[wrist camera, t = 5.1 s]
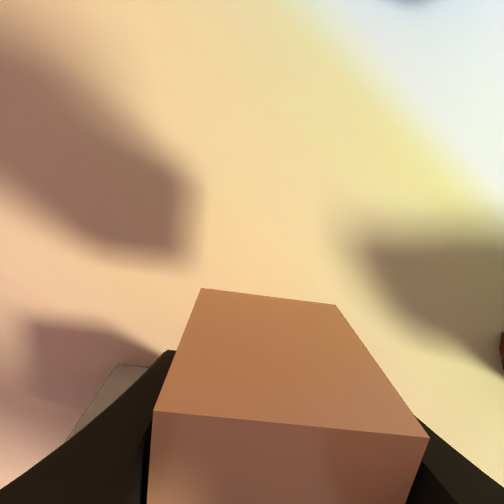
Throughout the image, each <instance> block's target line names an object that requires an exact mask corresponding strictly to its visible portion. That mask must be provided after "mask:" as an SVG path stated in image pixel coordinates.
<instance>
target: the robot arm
mask: <svg viewBox="0 0 504 504" xmlns="http://www.w3.org/2000/svg"><path fill="white" fill-rule="evenodd" d="M175 354H176V351H173V350H167V351H165V352H164V353H163V354H162V355H161V356H160V357H159V358H158V359H157V360H156V361H155V362H154V363H153V364H152V365H151V366H150V368H149V369H148V370H147V371H146V372H145V373H144V374H143V375H142V376H141V377H139V378H138V379H137V380H136V381H135V382H134V383H133V384H132V385H131V386H130V387H129V388H128V389H127V390H126V391H125V392H124V393H123V394H121V395H120V396H119V397H118V398H117V399H116V400H115V401H114V402H113V403H112V404H111V405H109V406H108V407H107V408H106V409H105V410H104V411H102V412H101V413H100V414H99V415H98V416H96V417H95V418H94V419H93V420H92V421H91V422H89V423H88V424H87V425H86V426H85V427H84V428H82V429H81V430H80V431H79V432H77V433H76V434H75V435H74V436H72V437H71V438H70V439H69V440H67V441H66V442H65V443H64V444H62V445H61V446H60V447H58V448H57V449H56V450H55V451H53V452H52V453H51V454H49V455H48V456H47V457H45V458H44V459H43V460H41V461H40V462H38V463H37V464H36V465H34V466H33V467H32V468H30V469H29V470H28V471H26V472H25V473H24V474H22V475H21V476H19V477H18V478H16V479H15V480H13V481H12V482H11V483H9V484H8V485H6V486H5V487H3V488H2V489H0V504H147V491H148V477H149V463H150V449H151V434H152V420H153V410H154V407H155V405H156V402H157V399H158V397H159V394H160V392H161V389H162V387H163V384H164V382H165V379H166V377H167V374H168V371H169V369H170V366H171V364H172V361H173V359H174V356H175ZM415 417H416V416H415ZM416 419H417V420H418V422H419V423H420V425H421V426H422V427H423V429H424V430H425V432H426V433H427V434H428V436H429V437H430V439H429V442H428V444H427V447H426V450H425V452H424V455H423V458H422V460H421V463H420V465H419V468H418V471H417V473H416V476H415V479H414V481H413V484H412V486H411V489H410V492H409V494H408V497H407V500H406V502H405V504H504V488H503V487H502V486H501V485H499V484H498V483H497V482H496V481H494V480H493V479H492V478H490V477H489V476H488V475H486V474H485V473H484V472H482V471H481V470H480V469H479V468H477V467H476V466H475V465H474V464H472V463H471V462H470V461H469V460H467V459H466V458H465V457H464V456H462V455H461V454H460V453H459V452H457V451H456V450H455V449H454V448H452V447H451V446H450V445H449V444H448V443H446V442H445V441H444V440H443V439H442V438H440V437H439V436H438V435H437V434H436V433H434V432H433V431H432V430H431V429H430V428H428V427H427V426H426V425H425V424H424V423H423V422H421V421H420V420H419V419H418V418H417V417H416Z"/></svg>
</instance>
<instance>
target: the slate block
mask: <svg viewBox="0 0 504 504" xmlns="http://www.w3.org/2000/svg"><path fill="white" fill-rule="evenodd" d="M148 369H149V368H147V367H138V366H129V365H120V364H117V365H116V367H115V368H114V370H113V371H112V373H111V374H110V376H109V377H108V379H107V380H106V382H105V383H104V385H103V386H102V388H101V389H100V391H99V392H98V394H97V395H96V396H95V398H94V399H93V401H92V402H91V404H90V405H89V407H88V408H87V410H86V411H85V413H84V414H83V416H82V417H81V419H80V420H79V422H78V423H77V425H76V426H75V428H74V429H73V430H72V432H71V433H70V435H69V436H68V438H67V439H66V441H67V440H69V439H70V438H71V437H72V436H74V435H75V434H76V433H77V432H79V431H80V430H81V429H82V428H84V427H85V426H86V425H87V424H88V423H89V422H91V421H92V420H93V419H94V418H95V417H96V416H98V415H99V414H100V413H101V412H102V411H104V410H105V409H106V408H107V407H108V406H109V405H111V404H112V403H113V402H114V401H115V400H116V399H117V398H118V397H119V396H120V395H121V394H123V393H124V392H125V391H126V390H127V389H128V388H129V387H130V386H131V385H132V384H133V383H134V382H135V381H136V380H137V379H138V378H139V377H141V376H142V375H143V374H144V373H145V372H146V371H147V370H148Z"/></svg>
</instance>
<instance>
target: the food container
mask: <svg viewBox="0 0 504 504" xmlns="http://www.w3.org/2000/svg"><path fill="white" fill-rule="evenodd" d="M499 349H500V355H501V360H502V366H503V370H504V331H502V335H501V342H500V348H499Z"/></svg>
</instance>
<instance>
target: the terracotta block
mask: <svg viewBox="0 0 504 504" xmlns="http://www.w3.org/2000/svg"><path fill="white" fill-rule="evenodd" d="M429 439H430V437H429V436H428V434H427V433H426V432H425V430H424V429H423V427H422V426H421V425H420V423H419V422H418V420H417V419H416V417H415V416H414V415H413V413H412V412H411V410H410V409H409V408H408V406H407V405H406V403H405V402H404V401H403V399H402V398H401V396H400V395H399V393H398V392H397V391H396V389H395V388H394V386H393V385H392V384H391V382H390V381H389V379H388V378H387V377H386V375H385V374H384V372H383V371H382V370H381V368H380V367H379V365H378V364H377V362H376V361H375V360H374V358H373V357H372V355H371V354H370V353H369V351H368V350H367V348H366V347H365V346H364V344H363V343H362V341H361V340H360V339H359V337H358V336H357V334H356V333H355V331H354V330H353V329H352V327H351V326H350V324H349V323H348V322H347V320H346V319H345V317H344V316H343V315H342V313H341V312H340V310H339V309H338V308H337V306H336V305H332V304H324V303H316V302H308V301H300V300H292V299H284V298H276V297H268V296H260V295H252V294H245V293H237V292H229V291H221V290H213V289H205V288H201V290H200V292H199V295H198V297H197V300H196V302H195V305H194V308H193V310H192V313H191V315H190V318H189V320H188V323H187V325H186V328H185V331H184V333H183V336H182V338H181V341H180V343H179V346H178V348H177V351H176V354H175V356H174V359H173V361H172V364H171V366H170V369H169V371H168V374H167V377H166V379H165V382H164V384H163V387H162V389H161V392H160V394H159V397H158V399H157V402H156V405H155V407H154V410H153V420H152V434H151V449H150V463H149V477H148V491H147V504H405V502H406V500H407V497H408V494H409V492H410V489H411V486H412V484H413V481H414V479H415V476H416V473H417V471H418V468H419V465H420V463H421V460H422V458H423V455H424V452H425V450H426V447H427V444H428V442H429Z"/></svg>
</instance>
